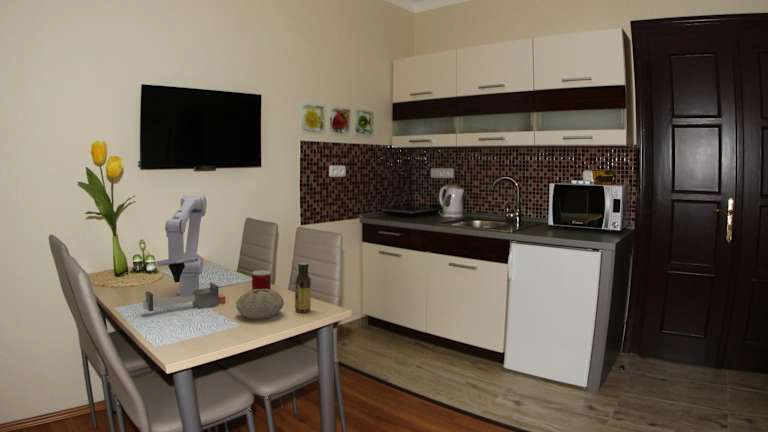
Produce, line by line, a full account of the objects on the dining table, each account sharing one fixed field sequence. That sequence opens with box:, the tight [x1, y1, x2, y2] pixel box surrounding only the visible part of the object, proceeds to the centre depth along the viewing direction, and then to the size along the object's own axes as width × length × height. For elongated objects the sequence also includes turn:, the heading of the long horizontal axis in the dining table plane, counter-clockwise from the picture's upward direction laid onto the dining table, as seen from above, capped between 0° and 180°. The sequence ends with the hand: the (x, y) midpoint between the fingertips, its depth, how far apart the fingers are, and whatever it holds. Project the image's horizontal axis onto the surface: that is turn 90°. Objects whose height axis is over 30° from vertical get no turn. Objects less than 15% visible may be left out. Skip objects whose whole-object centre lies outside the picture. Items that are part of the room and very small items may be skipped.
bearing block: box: [192, 282, 220, 310], centre depth 198 cm, size 7×8×8 cm
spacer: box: [218, 293, 227, 305], centre depth 203 cm, size 4×3×3 cm
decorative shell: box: [235, 289, 285, 320], centre depth 187 cm, size 18×18×10 cm
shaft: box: [142, 291, 197, 312], centre depth 190 cm, size 5×23×6 cm, turn 131°
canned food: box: [251, 269, 272, 290], centre depth 212 cm, size 8×8×11 cm
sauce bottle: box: [294, 261, 312, 314], centre depth 193 cm, size 7×6×20 cm
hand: (176, 281), depth 194 cm, fingers closed
